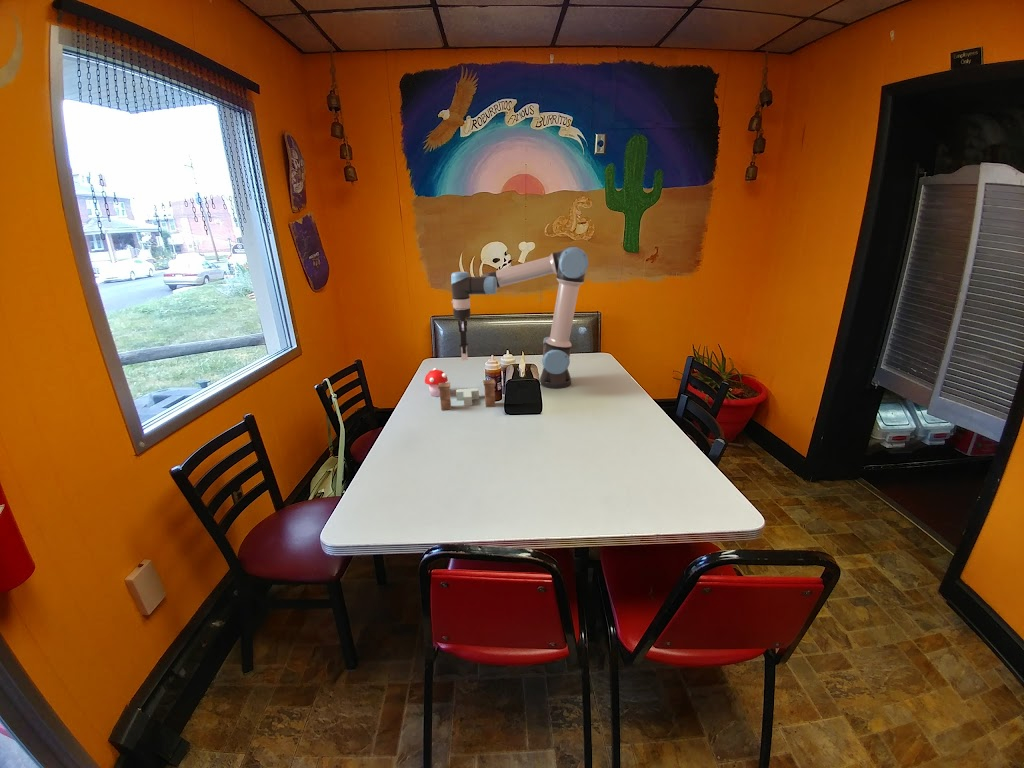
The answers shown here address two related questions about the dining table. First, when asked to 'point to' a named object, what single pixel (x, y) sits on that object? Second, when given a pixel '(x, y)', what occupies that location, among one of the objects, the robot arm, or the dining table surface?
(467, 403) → the t block
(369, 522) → the dining table surface
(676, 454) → the dining table surface
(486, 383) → the post
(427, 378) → the mushroom
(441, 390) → the post
